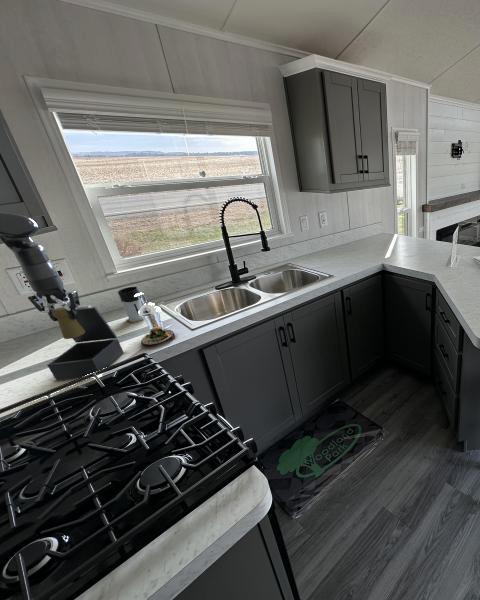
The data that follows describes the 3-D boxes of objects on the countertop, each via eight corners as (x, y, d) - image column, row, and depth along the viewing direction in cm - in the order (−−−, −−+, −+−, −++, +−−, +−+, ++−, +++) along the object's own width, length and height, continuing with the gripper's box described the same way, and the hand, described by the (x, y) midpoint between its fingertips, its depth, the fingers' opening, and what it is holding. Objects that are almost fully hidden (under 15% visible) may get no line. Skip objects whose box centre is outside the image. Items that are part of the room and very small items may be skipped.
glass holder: (141, 312, 168) (130, 285, 161) (162, 315, 163) (151, 288, 157) (124, 320, 160) (111, 292, 154) (145, 323, 156) (132, 295, 149)
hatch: (94, 308, 121) (101, 300, 125) (50, 312, 119) (59, 304, 123) (116, 338, 130) (122, 330, 134) (75, 342, 128) (83, 334, 132)
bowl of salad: (135, 348, 136) (128, 333, 133) (154, 333, 147) (148, 319, 144) (164, 347, 136) (158, 331, 133) (181, 332, 147) (175, 317, 144)
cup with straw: (173, 327, 151) (157, 288, 143) (153, 337, 144) (136, 296, 135) (160, 324, 154) (144, 285, 146) (141, 334, 147) (123, 294, 138)
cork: (87, 332, 121) (73, 306, 116) (66, 340, 116) (51, 313, 111) (82, 328, 124) (68, 302, 119) (61, 336, 119) (46, 309, 115)
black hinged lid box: (100, 375, 121) (92, 359, 118) (56, 380, 119) (46, 365, 116) (124, 352, 134) (117, 338, 131) (84, 357, 132) (77, 343, 129)
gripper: (7, 281, 106) (35, 326, 113) (57, 277, 108) (80, 322, 115) (27, 273, 112) (52, 316, 120) (74, 269, 114) (95, 312, 122)
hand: (66, 319), depth 117 cm, fingers closed on cork, 5 cm apart
